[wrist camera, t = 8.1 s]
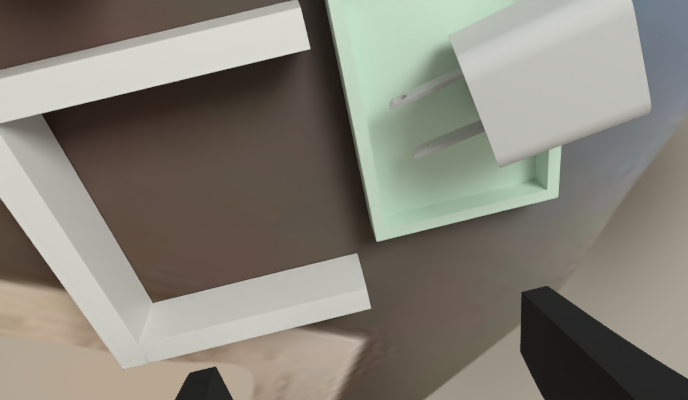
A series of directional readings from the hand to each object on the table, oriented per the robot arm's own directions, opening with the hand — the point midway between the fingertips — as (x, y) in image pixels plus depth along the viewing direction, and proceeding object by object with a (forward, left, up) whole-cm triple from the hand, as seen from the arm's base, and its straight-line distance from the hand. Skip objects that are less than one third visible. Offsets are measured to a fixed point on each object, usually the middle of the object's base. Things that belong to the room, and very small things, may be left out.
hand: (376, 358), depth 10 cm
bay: (+1, +5, -9) cm, 11 cm away
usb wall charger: (+3, -7, -9) cm, 11 cm away
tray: (+3, -5, -10) cm, 11 cm away
